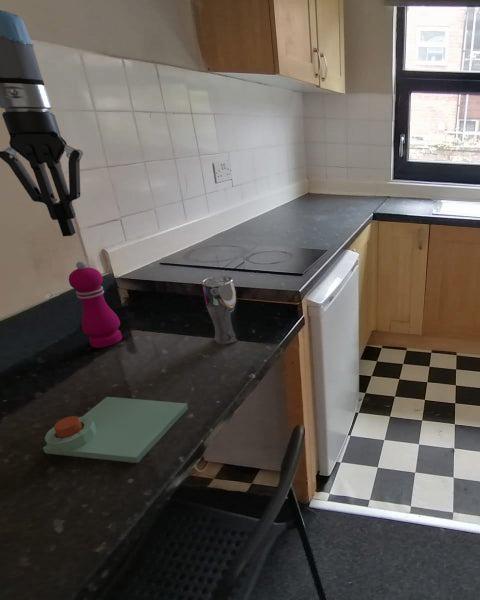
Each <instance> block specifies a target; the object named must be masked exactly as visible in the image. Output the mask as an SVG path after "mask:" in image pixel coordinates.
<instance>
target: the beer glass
mask: <svg viewBox="0 0 480 600" xmlns="http://www.w3.org/2000/svg"><path fill="white" fill-rule="evenodd" d="M233 279H234V278H233V277H231V276H229V275H215V276H211V277H207V278H205V279H203V280H202V281H201V284H200V285H201V290H202V297H203V302H204V305H205V309H206V311H207V315H208V316H209V318H210V321H211V323H212V326H213V330H214V336H213V337H214V338H213V339H214V342H215V343H216V344H218V345H231V344H234V343H236V342H239V341H240V339H241V338H242V335H243V334H242V332H241V330H240V328H239V323H238V295H237V291H236V288H235V287H236V286H235V284H234V280H233Z"/></svg>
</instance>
